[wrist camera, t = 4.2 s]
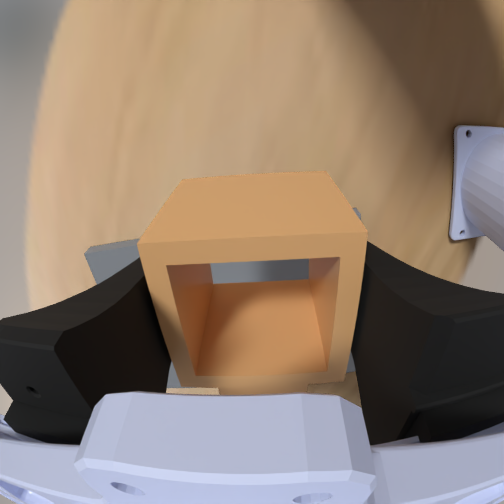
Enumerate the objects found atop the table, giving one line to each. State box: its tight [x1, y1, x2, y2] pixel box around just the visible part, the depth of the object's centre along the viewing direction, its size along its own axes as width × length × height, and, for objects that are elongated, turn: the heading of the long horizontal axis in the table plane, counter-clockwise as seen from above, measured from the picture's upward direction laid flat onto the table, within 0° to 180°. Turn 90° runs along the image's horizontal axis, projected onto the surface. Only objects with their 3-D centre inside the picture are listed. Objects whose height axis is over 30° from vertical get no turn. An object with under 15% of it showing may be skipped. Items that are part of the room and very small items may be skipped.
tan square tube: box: [137, 171, 368, 395], centre depth 11 cm, size 9×5×5 cm, turn 4°
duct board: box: [84, 208, 361, 388], centre depth 21 cm, size 18×14×4 cm
